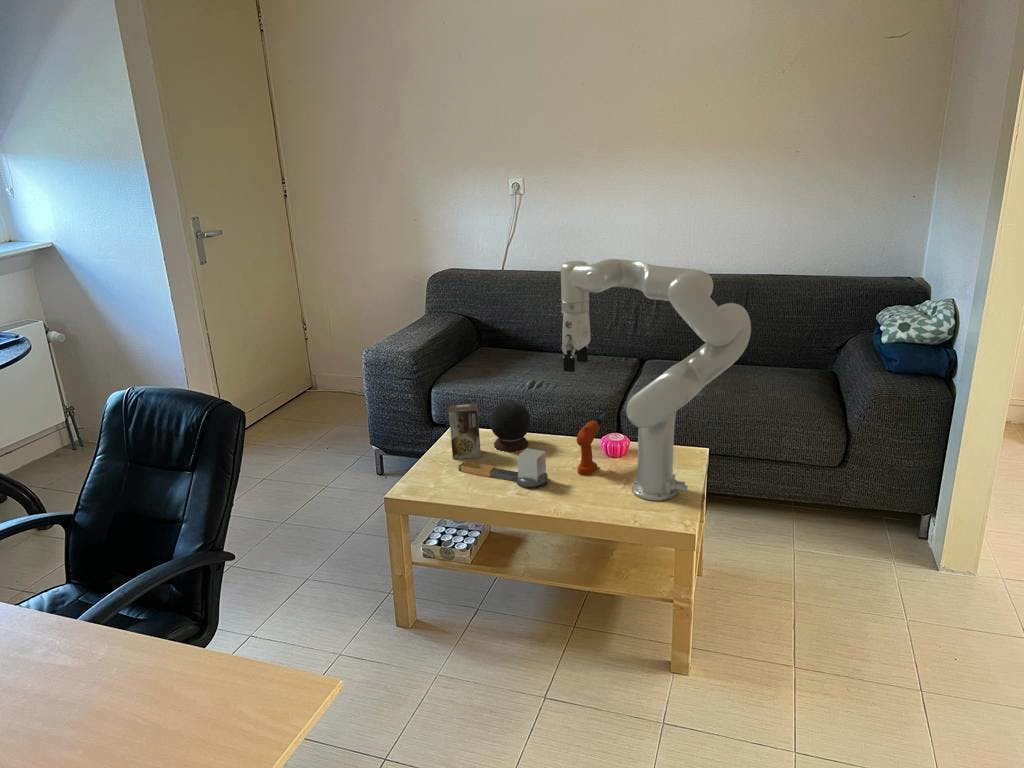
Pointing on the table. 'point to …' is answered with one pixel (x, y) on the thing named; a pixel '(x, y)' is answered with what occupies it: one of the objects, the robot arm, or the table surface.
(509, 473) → the ratchet
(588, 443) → the toy drill
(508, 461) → the table surface
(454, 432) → the coffee box
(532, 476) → the socket
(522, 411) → the black ball on stand
